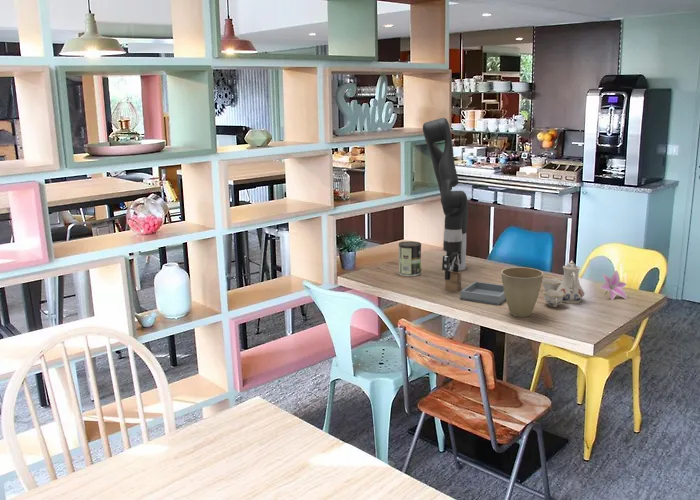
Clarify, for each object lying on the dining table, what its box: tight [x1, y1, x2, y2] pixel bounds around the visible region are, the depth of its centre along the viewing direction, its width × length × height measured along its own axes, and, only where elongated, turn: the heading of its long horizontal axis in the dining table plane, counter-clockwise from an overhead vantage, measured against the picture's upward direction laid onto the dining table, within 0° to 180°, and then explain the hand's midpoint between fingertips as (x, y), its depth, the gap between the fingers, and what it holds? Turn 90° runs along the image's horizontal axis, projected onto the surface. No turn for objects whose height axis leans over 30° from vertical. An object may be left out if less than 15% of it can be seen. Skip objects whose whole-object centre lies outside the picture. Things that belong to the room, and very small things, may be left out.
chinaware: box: [541, 259, 585, 308], centre depth 259 cm, size 28×17×17 cm, turn 171°
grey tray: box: [459, 280, 506, 306], centre depth 265 cm, size 16×16×4 cm
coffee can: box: [398, 240, 422, 277], centre depth 301 cm, size 10×10×14 cm
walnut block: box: [444, 270, 462, 293], centre depth 276 cm, size 5×5×7 cm
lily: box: [599, 269, 628, 301], centre depth 263 cm, size 12×12×10 cm
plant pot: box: [500, 266, 544, 318], centre depth 243 cm, size 15×15×16 cm
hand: (451, 277), depth 276 cm, fingers open, 8 cm apart
